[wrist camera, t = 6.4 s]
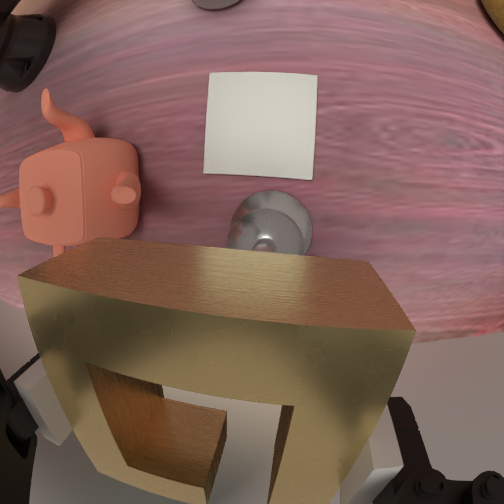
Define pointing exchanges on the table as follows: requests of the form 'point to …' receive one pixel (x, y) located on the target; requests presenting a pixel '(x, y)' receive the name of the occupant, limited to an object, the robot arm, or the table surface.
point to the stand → (271, 224)
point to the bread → (495, 12)
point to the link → (215, 358)
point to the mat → (261, 124)
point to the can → (214, 3)
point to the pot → (77, 186)
